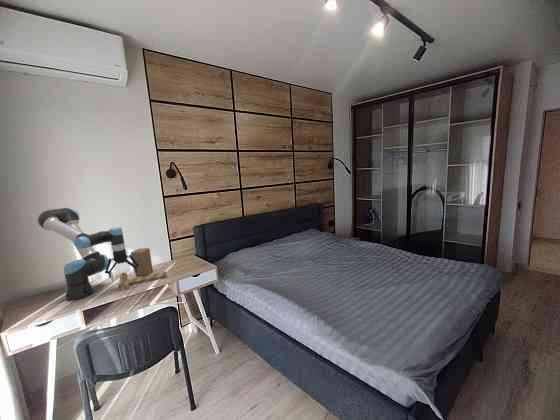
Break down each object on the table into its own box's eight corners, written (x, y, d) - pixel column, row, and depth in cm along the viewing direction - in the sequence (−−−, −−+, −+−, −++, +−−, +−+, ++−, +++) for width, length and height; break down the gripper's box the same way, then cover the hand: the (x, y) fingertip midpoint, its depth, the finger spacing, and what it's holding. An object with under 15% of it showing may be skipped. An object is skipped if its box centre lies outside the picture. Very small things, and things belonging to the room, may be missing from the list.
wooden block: (153, 271, 210) (149, 247, 207) (145, 276, 200) (142, 251, 197) (142, 271, 211) (138, 248, 208) (134, 276, 201) (130, 252, 198)
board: (118, 287, 180) (118, 285, 180) (120, 283, 188) (120, 280, 188) (166, 277, 192) (166, 275, 192) (166, 273, 201) (166, 271, 200)
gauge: (121, 290, 175) (119, 275, 174) (124, 284, 186) (121, 269, 185) (128, 288, 177) (125, 273, 175) (130, 282, 188) (128, 268, 187)
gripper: (96, 255, 166) (101, 286, 169) (139, 247, 176) (144, 276, 179) (98, 252, 173) (104, 282, 176) (140, 245, 183) (144, 273, 186)
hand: (124, 279), depth 177 cm, fingers open, 13 cm apart
